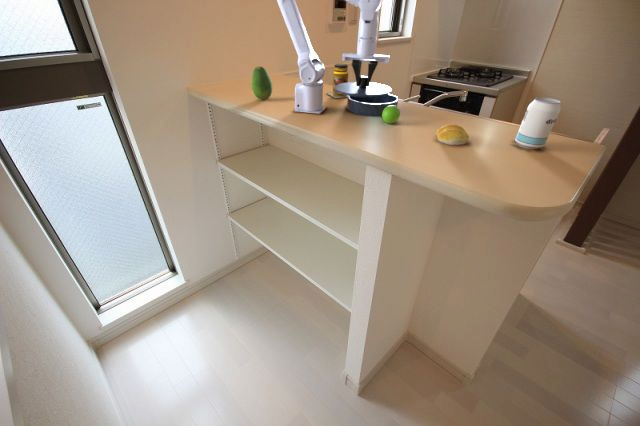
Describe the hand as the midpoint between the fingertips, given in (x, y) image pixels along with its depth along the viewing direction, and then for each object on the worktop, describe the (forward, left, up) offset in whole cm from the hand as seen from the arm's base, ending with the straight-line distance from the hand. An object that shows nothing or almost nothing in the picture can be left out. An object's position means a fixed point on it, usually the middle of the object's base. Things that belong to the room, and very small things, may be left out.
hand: (363, 86), depth 98 cm
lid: (0, 0, -1) cm, 1 cm away
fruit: (-40, +8, -10) cm, 42 cm away
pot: (+3, +9, -9) cm, 13 cm away
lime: (+11, -6, -7) cm, 14 cm away
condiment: (-13, +25, -10) cm, 30 cm away
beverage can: (+49, -14, -10) cm, 51 cm away
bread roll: (+29, -16, -10) cm, 34 cm away
